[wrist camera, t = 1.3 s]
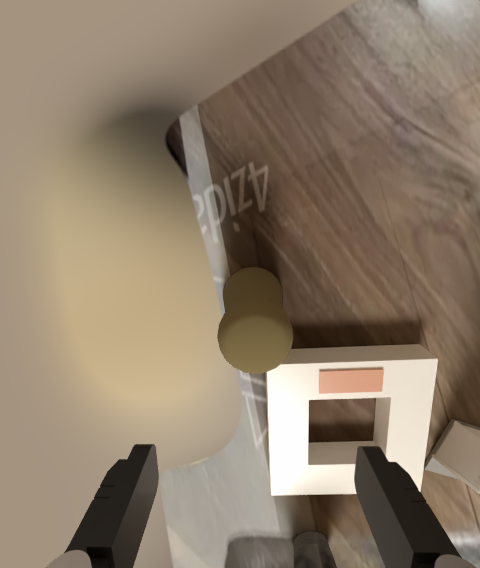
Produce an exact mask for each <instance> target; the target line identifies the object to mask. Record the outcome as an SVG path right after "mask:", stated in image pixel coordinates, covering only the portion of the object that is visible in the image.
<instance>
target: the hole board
mask: <svg viewBox="0 0 480 568" xmlns="http://www.w3.org/2000/svg"><path fill="white" fill-rule="evenodd" d="M437 363H438V358H436V357H435V356H434V355H433V354H431V353H430V352H429V351H427V350H426V349H425V348H424V347H422V346H421V345H420V344H409V345H383V346H357V347H331V348H305V349H291V351H290V353H289V355H288V356H287V358H286V360H285V361H284V362H283V363H282V364H280V365H279V366H278V367H277V368H275V369H273V370H270V371H268V372H266V397H267V424H268V451H269V474H270V486H271V495H319V494H357V493H356V489H355V483H354V474H355V465H356V456H357V448H358V446H379V447H380V448H381V449H382V451H383V453H384V454H385V456H386V458H387V460H388V461H389V462H397V463H398V464H399V465H400V466H401V467H402V468H403V469H404V470H405V471H406V472H408V473H409V474H410V476H411V478H412V479H413V481H414V482H415V484H416V486H417V487H418V490H419V492H420V491H421V484H422V476H423V468H424V461H425V453H426V446H427V438H428V431H429V423H430V416H431V408H432V401H433V393H434V386H435V378H436V371H437ZM350 398H376V407H375V420H374V434H373V441H350V442H311V443H308V406H309V400H319V399H350Z"/></svg>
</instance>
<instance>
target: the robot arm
mask: <svg viewBox="0 0 480 568" xmlns="http://www.w3.org/2000/svg"><path fill="white" fill-rule="evenodd" d="M354 483H355V489H356V493H357V496H358V499H359V501H360V504H361V506H362V509H363V511H364V514H365V517H366V519H367V522H368V524H369V527H370V529H371V532H372V534H373V537H374V539H375V542H376V545H377V547H378V550H379V552H380V555H381V557H382V560H383V562H384V565H385V568H476V567H475V566H474V565H472V564H471V563H469V562H468V561H466V560H464V559H463V558H462V557H461V556H460V555H459V553H458V552H457V550H456V548H455V547H454V545H453V544H452V542H451V540H450V539H449V537H448V536H447V534H446V532H445V531H444V529H443V528H442V526H441V524H440V523H439V521H438V519H437V518H436V516H435V515H434V513H433V511H432V510H431V508H430V507H429V505H428V504H427V503H426V500H425V499H424V497H423V495H422V494H421V492H419V490H418V487H417V486H416V484H415V482H414V481H413V479H412V478H411V476H410V474H409V473H408V472H406V471H405V470H404V469H403V468H402V467H401V466H400V465H399V464H398V463H397V462H389V461H388V460H387V458H386V456H385V454H384V453H383V451H382V449H381V448H380V447H379V446H358V448H357V456H356V465H355V474H354ZM157 487H158V465H157V455H156V447H155V445H154V444H136V445H134V447H133V449H132V451H131V453H130V455H129V457H128V459H127V460H125V459H122V460H121V459H119V460H118V461H117V462H116V463H115V464H114V466H112V468H111V469H110V470H109V471H108V472H107V474H106V476H105V477H104V480H103V481H102V483H101V485H100V488H99V489H98V491H97V493H96V495H95V497H94V500H92V502H91V504H90V506H89V508H88V510H87V512H86V514H85V516H84V518H83V519H82V521H81V523H80V525H79V527H78V529H77V531H76V533H75V535H74V537H73V539H72V540H71V543H70V544H69V546H68V548H67V550H66V551H65V552H64V554H62V555H60V556H59V557H57V558H56V559H54V560H53V561H52V562H51V563H50V564H49V565H48V566H47V567H46V568H133V565H134V562H135V559H136V556H137V553H138V550H139V546H140V543H141V540H142V537H143V534H144V530H145V527H146V524H147V521H148V518H149V514H150V511H151V508H152V505H153V502H154V498H155V495H156V492H157Z"/></svg>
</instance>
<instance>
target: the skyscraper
mask: <svg viewBox="0 0 480 568" xmlns="http://www.w3.org/2000/svg"><path fill="white" fill-rule="evenodd" d="M424 469H425V470H429V471H432V472H435V473H439V474H442V475H446V476H449V477H452V478H456V479H459V480H462V481H463V482H464V483H466V484H467V485H468V486H469V487H471V488H472V489H473V490H474V491H476V492H477V493H478V494H479V495H480V427H478V426H475V425H472V424H468V423H465V422H462V421H459V420H455V419H451V421H450V422H449V424H448V425H447V427H446V429H445V430H444V432H443V434H442V435H441V437H440V438H439V440H438V442H437V443H436V445H435V446H434V448H433V450H432V451H431V453H430V455H429V456H428V458H427V459H426V461H425V463H424Z"/></svg>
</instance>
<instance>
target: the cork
mask: <svg viewBox="0 0 480 568" xmlns="http://www.w3.org/2000/svg"><path fill="white" fill-rule="evenodd" d="M223 300H224V307H225V314H224V316H223V318H222V320H221V322H220V324H219V330H218V342H219V347H220V350H221V352H222V354H223V356H224V358H225V359H226V361H228V362H229V363H230V364H231V365H232V366H233V367H234V368H237V369H239V370H241V371H243V372H246V373H253V374H259V373H266V372H268V371H270V370H273V369H275V368H277V367H278V366H279V365H280V364H282V363H283V362H284V361H285V360H286V358H287V356H288V355H289V353H290V351H291V347H292V342H293V329H292V325H291V323H290V321H289V319H288V317H287V315H286V313H285V312H284V311H283V293H282V287H281V285H280V283H279V281H278V279H277V278H276V277H275V276H274V275H273V274H272V273H271V272H269V271H267V270H265V269H263V268H258V267H248V268H243V269H241V270H239V271H237V272H235V273H234V274H233V275H232V276H231V277H230V278H229V279H228V281H227V283H226V285H225V287H224V292H223Z"/></svg>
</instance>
